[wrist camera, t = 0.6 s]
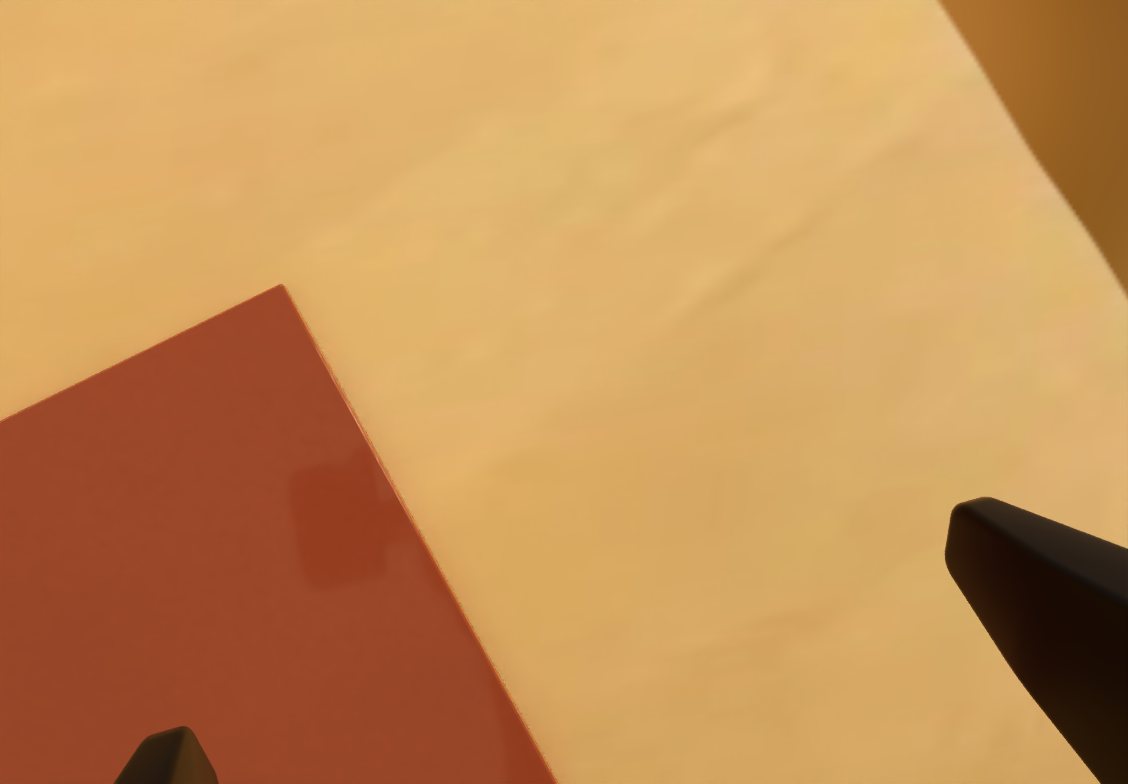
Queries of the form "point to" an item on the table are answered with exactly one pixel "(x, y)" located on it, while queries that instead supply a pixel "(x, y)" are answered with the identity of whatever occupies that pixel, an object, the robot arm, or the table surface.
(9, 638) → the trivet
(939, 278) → the table surface
